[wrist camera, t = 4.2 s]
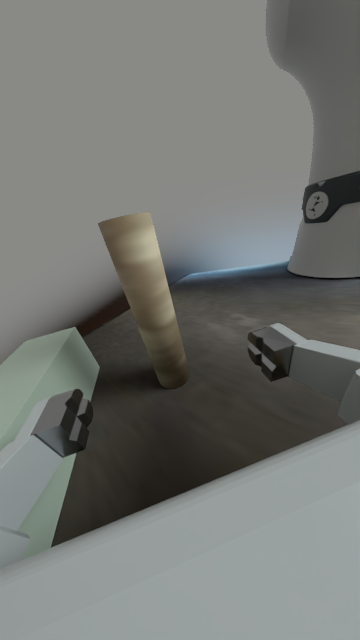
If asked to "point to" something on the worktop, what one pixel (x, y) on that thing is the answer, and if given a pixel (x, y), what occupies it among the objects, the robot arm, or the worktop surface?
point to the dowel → (147, 293)
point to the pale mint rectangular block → (20, 398)
